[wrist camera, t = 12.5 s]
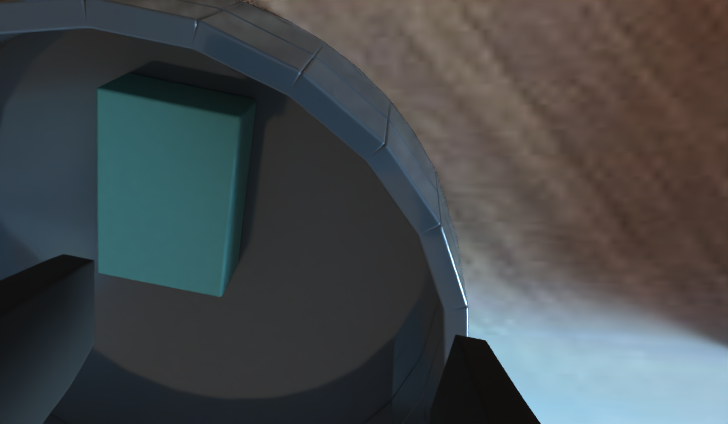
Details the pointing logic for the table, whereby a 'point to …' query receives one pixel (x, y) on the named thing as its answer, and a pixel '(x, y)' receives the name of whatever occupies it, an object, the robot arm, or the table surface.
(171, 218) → the rectangular block
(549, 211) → the table surface
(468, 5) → the table surface
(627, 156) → the table surface
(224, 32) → the bowl
